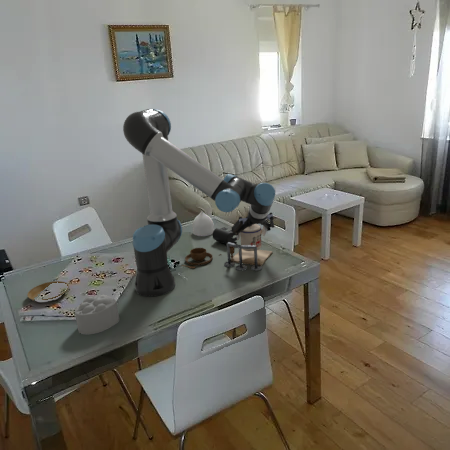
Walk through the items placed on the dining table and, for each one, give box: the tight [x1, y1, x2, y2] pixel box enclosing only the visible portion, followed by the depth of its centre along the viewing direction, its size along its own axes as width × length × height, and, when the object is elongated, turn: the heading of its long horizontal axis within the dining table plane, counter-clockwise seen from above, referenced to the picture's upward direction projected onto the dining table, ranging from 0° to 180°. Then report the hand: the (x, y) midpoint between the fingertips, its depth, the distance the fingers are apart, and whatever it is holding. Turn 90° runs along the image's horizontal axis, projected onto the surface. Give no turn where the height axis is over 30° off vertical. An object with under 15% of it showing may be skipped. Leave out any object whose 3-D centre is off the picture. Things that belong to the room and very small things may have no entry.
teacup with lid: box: [240, 224, 263, 251], centre depth 176 cm, size 12×9×12 cm
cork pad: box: [231, 249, 273, 267], centre depth 180 cm, size 14×14×1 cm
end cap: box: [212, 226, 238, 245], centre depth 196 cm, size 10×7×7 cm
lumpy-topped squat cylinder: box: [74, 294, 120, 335], centre depth 137 cm, size 10×13×9 cm
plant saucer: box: [26, 280, 70, 302], centre depth 159 cm, size 15×15×3 cm
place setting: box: [181, 246, 235, 269], centre depth 178 cm, size 18×20×6 cm
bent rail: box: [223, 242, 263, 272], centre depth 169 cm, size 6×16×10 cm, turn 64°
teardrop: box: [192, 210, 215, 237], centre depth 211 cm, size 11×11×12 cm
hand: (250, 235), depth 179 cm, fingers closed on teacup with lid, 11 cm apart
